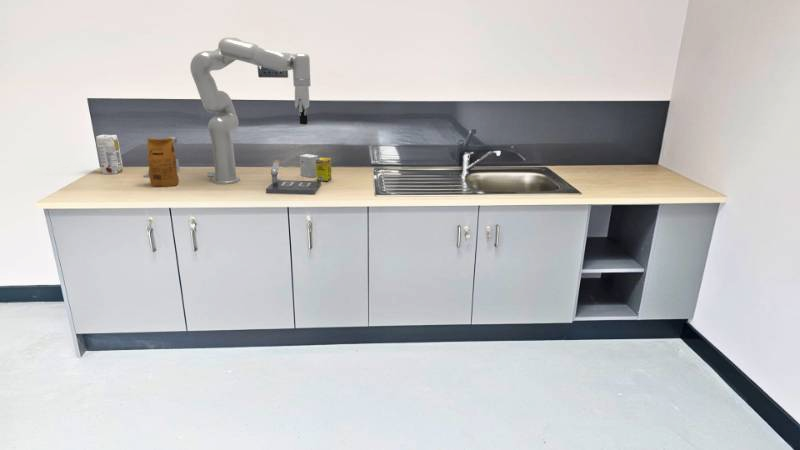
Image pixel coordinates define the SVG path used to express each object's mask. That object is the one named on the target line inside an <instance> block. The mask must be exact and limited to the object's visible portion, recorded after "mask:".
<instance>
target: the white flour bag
mask: <svg viewBox="0 0 800 450" xmlns="http://www.w3.org/2000/svg"><path fill="white" fill-rule="evenodd" d="M95 139H96V140H95V141H96V146H97V151H98V152H97V153H98V155H99V156H98V157H99V163H100V167H101V171H102V173H103V174H104V175H118V174H120V173H122V172H123V170H124V166H123V165H124V164H123V159H122V155H121V150H120V149H121V148H120V143H119V138H118V136H117V134H100V135H97V136H95Z"/></svg>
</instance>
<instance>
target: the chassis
mask: <svg viewBox="0 0 800 450" xmlns="http://www.w3.org/2000/svg"><path fill="white" fill-rule="evenodd" d="M321 186H322V182H321V181H317V180H292V179H291V180H286V179H278V175H271V183H270V184H269V186H267V187H266V188H265V193H266V194H271V195H272V194H277V195H278V194H279V195H308V196H309V195H310V196H311V195H312V196H315V195H316V193H317V192H318V191H319V189H320V187H321Z"/></svg>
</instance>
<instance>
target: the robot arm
mask: <svg viewBox="0 0 800 450" xmlns="http://www.w3.org/2000/svg"><path fill="white" fill-rule="evenodd" d="M236 61H241V62H245V63H248V64H251V65H254V66H257V67H261V68H264V69H268V70H273V71H275V72H276V71H277V72H284V71H292V77H293V79H292V81H293V83H292V84H293V87H294V109H296V110H297V109H298V111H299V124H300V125H307V124H309V123H308V108H309V107H310V89H309V87H311V63H310V55H308V54H307V53H289V52H275V51H271V50H268V49H264V48H262V47H259V45H257V44H256V43H251V42H246V41H244V40H243V41H242V40H241V39H240V38H237V37H224V38H222V39H220V41H218V46H217V48H216V49H215V50H203V51H199V52H198V53H196V54H195V55H194V56H193V57H192V59H191V62H190V67H189V68H190V73H191V76H192V78H193V82H194V83H195V87H196V90H197V92H198V95H199V97H200V100H201V103H202V106H203V108H204V109H205V110H206V112H207V113H210V114H214V113H215V114H216V115H215V116H213V117H211V118H210V120H209V122H208V125H207V128H208V132H209V136H210V139H211V140H210V141H211V148H212V155H213V156H212V157H213V163H214V164H213V167H214V171H213V172H212V171H208V172H206V173H207V177H208V178H212V182H213V183H214V184H219V185H228V184H229V185H230V184H234V183H238V182H240V181H241V179H240V178H241V177H240V176H237V172H236V161H235V158H236V157H235V150H234V148H235V147H234V142H233V138H232V133H234V132H235V131H237V129H238V128H239V126H240V125H239V118H238V115H237V112H236V109H235V106H234V104H233V103H234V102H233V101H232V99H231V96H229V94H228V93H227V92H225V91H223V90H219V89H218V86H217V84H216V80H215V78H214V77H213V76H212V73H211V71H220V70H222V69H225V68H226V67H228V66H230V64H232V63H234V62H236Z"/></svg>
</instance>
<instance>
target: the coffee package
mask: <svg viewBox="0 0 800 450" xmlns="http://www.w3.org/2000/svg"><path fill="white" fill-rule="evenodd" d="M173 142H174V141H172V138H170V137H167V138H160V139H157V138H149V137H148V138H147V162H148V172H149V177H150V178H149V177H148V178H149V181H150V186H151V187H152V188H154V187H163V188H166V187H172V186H173V187H175V186H177V185H178V183H179V181H180V179H179V175H178V172H177V171H176V168H177V167H176V159H177V158H176V151H175V147H174V146H173Z"/></svg>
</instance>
